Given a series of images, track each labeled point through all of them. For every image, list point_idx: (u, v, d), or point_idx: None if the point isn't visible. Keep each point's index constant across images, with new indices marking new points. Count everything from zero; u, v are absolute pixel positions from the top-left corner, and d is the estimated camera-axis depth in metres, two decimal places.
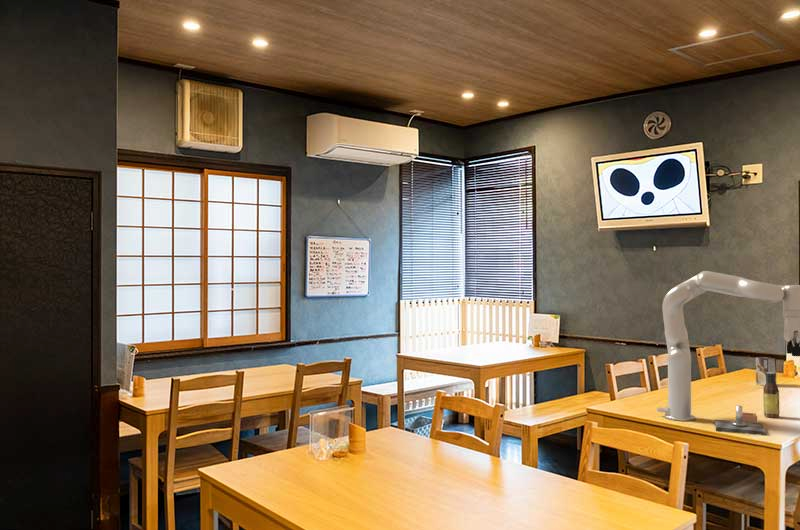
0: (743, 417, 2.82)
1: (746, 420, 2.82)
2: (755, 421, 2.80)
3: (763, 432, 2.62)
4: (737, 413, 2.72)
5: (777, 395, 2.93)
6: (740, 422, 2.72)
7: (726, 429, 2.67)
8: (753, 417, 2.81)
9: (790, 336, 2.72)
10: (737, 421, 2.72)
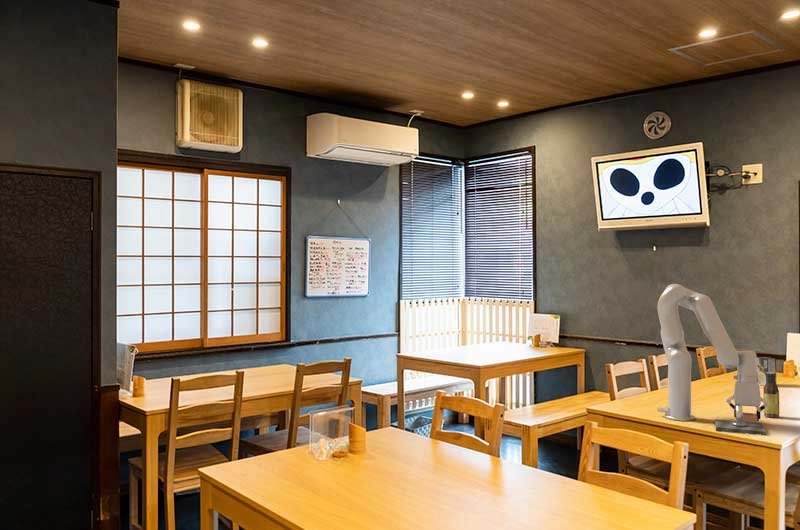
0: (743, 417, 2.82)
1: (746, 420, 2.82)
2: (755, 421, 2.80)
3: (763, 432, 2.62)
4: (737, 413, 2.72)
5: (777, 395, 2.93)
6: (740, 422, 2.72)
7: (726, 429, 2.67)
8: (753, 417, 2.81)
9: (760, 401, 2.81)
10: (737, 421, 2.72)
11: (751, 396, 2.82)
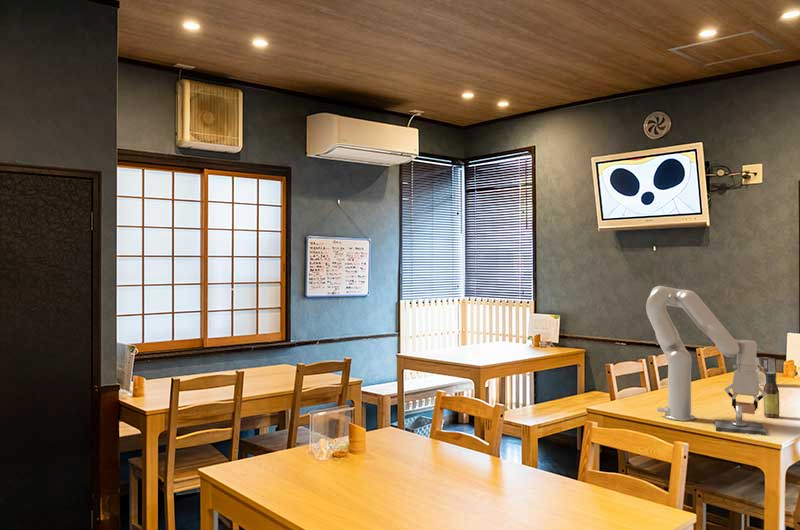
0: None
1: (743, 409, 2.82)
2: (752, 410, 2.81)
3: (763, 432, 2.62)
4: (737, 413, 2.72)
5: (777, 395, 2.93)
6: (740, 422, 2.72)
7: (726, 429, 2.67)
8: (750, 406, 2.81)
9: (758, 391, 2.81)
10: (737, 421, 2.72)
11: (749, 385, 2.82)
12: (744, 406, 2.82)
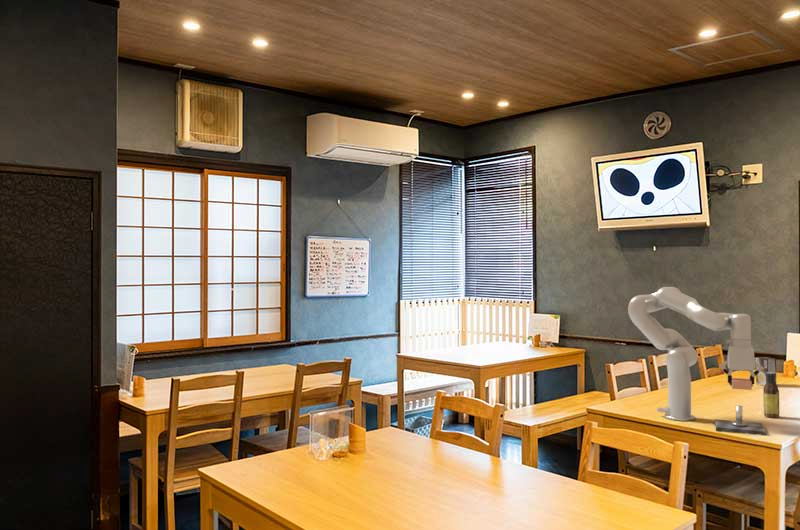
0: (737, 382, 2.73)
1: (740, 385, 2.72)
2: (749, 386, 2.71)
3: (763, 432, 2.62)
4: (737, 413, 2.72)
5: (777, 395, 2.93)
6: (740, 422, 2.72)
7: (726, 429, 2.67)
8: (747, 382, 2.71)
9: (754, 365, 2.72)
10: (737, 421, 2.72)
11: (745, 360, 2.73)
12: (741, 382, 2.72)
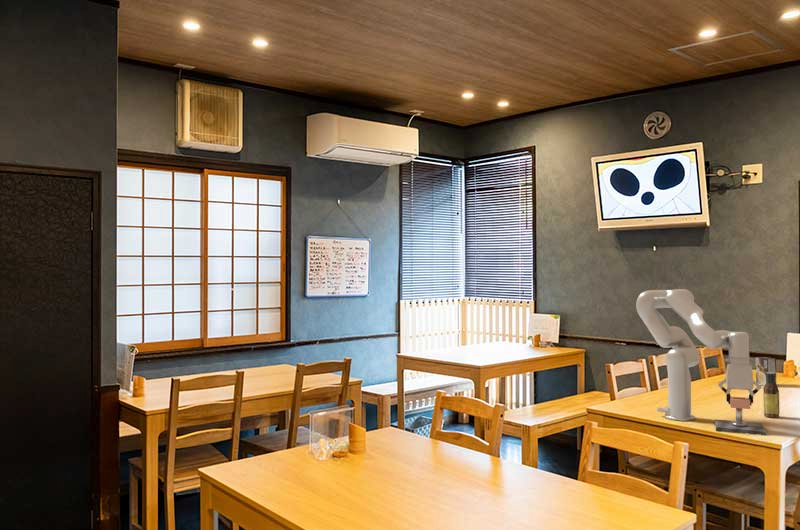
0: (735, 401, 2.70)
1: (739, 404, 2.70)
2: (748, 405, 2.68)
3: (763, 432, 2.62)
4: (737, 413, 2.72)
5: (777, 395, 2.93)
6: (740, 422, 2.72)
7: (726, 429, 2.67)
8: (745, 401, 2.69)
9: (753, 384, 2.69)
10: (737, 421, 2.72)
11: (743, 379, 2.70)
12: (739, 401, 2.69)
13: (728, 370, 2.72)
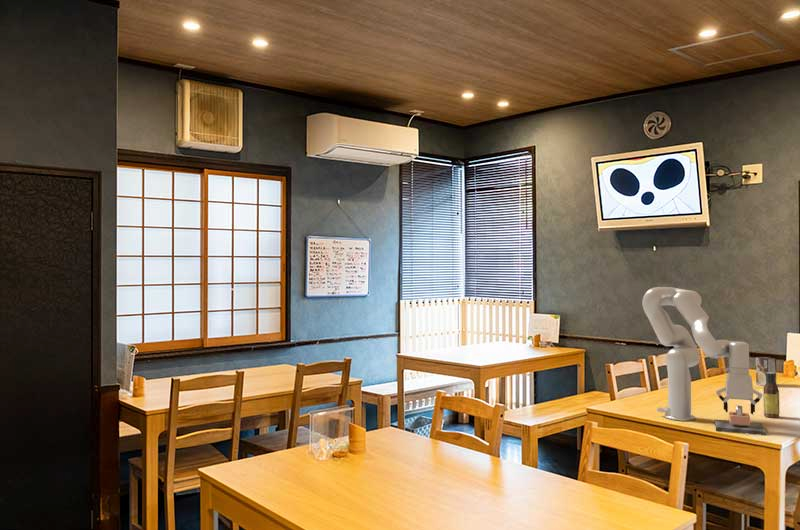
0: (735, 417, 2.70)
1: (738, 420, 2.70)
2: (748, 422, 2.68)
3: (763, 432, 2.62)
4: (737, 413, 2.72)
5: (777, 395, 2.93)
6: None
7: (726, 429, 2.67)
8: (745, 417, 2.69)
9: None
10: None
11: (743, 389, 2.70)
12: (739, 417, 2.69)
13: (728, 380, 2.72)
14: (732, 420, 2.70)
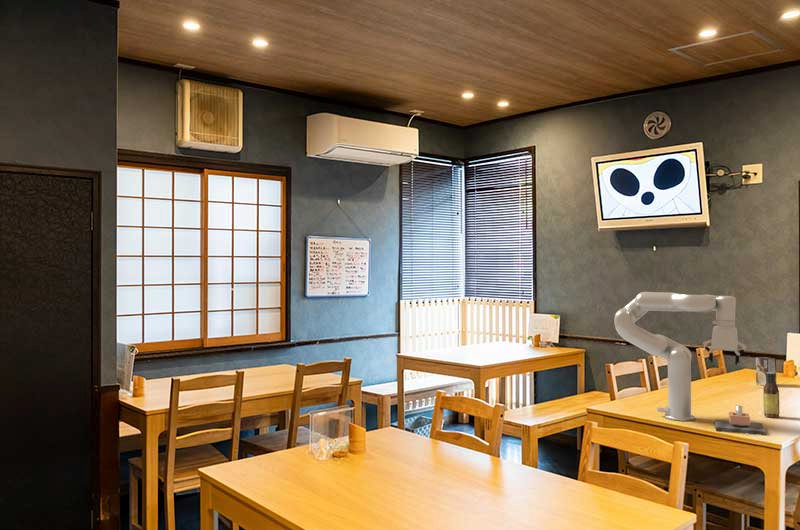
0: (735, 417, 2.70)
1: (738, 420, 2.70)
2: (748, 421, 2.68)
3: (763, 432, 2.62)
4: (737, 413, 2.72)
5: (777, 395, 2.93)
6: None
7: (726, 429, 2.67)
8: (745, 417, 2.69)
9: (737, 346, 2.81)
10: None
11: (728, 340, 2.82)
12: (739, 417, 2.70)
13: (714, 332, 2.85)
14: (732, 420, 2.71)
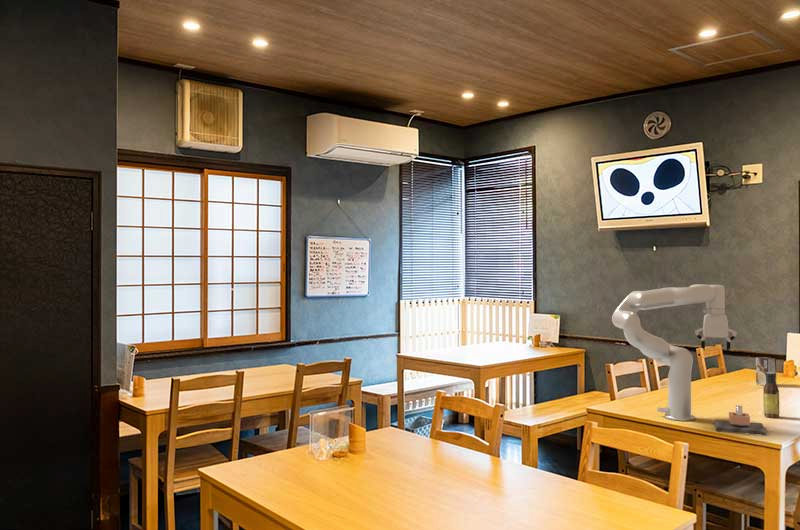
0: (735, 417, 2.70)
1: (738, 420, 2.70)
2: (748, 421, 2.68)
3: (763, 432, 2.62)
4: (737, 413, 2.72)
5: (777, 395, 2.93)
6: None
7: (726, 429, 2.67)
8: (745, 417, 2.69)
9: None
10: None
11: (719, 328, 2.92)
12: (739, 417, 2.70)
13: (705, 320, 2.94)
14: (732, 420, 2.71)
